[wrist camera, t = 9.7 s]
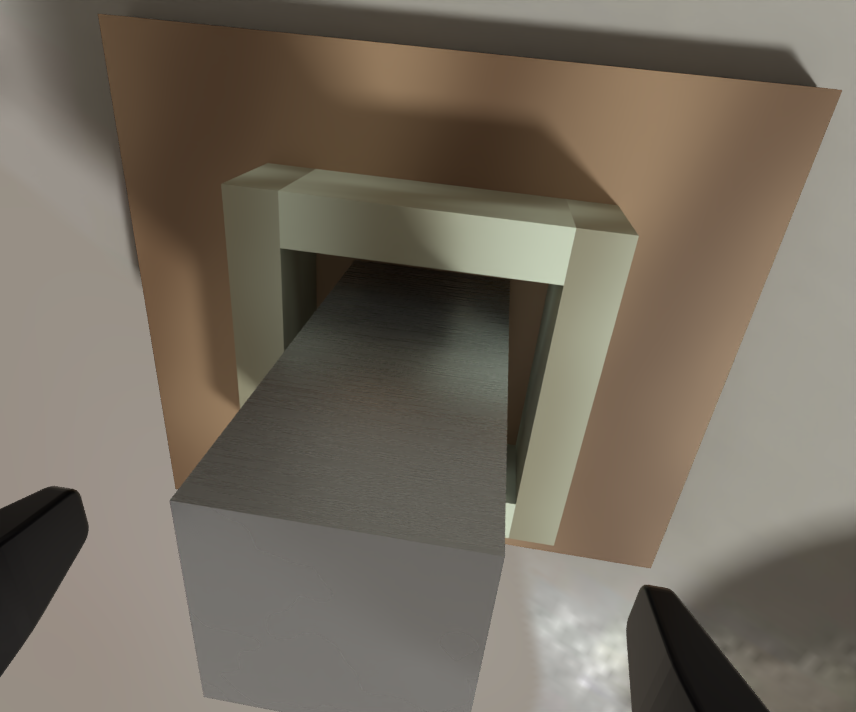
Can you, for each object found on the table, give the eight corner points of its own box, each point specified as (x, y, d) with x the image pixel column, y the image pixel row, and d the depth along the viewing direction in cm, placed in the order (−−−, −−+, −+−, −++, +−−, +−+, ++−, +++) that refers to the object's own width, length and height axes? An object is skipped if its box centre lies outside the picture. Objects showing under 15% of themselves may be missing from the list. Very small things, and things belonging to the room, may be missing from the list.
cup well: (819, 87, 12) (919, 98, 9) (644, 544, 19) (669, 638, 16) (124, 16, 14) (10, 5, 10) (190, 470, 20) (132, 544, 17)
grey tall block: (509, 279, 14) (504, 556, 6) (488, 410, 16) (463, 746, 8) (355, 259, 15) (169, 500, 7) (351, 390, 17) (203, 696, 9)
